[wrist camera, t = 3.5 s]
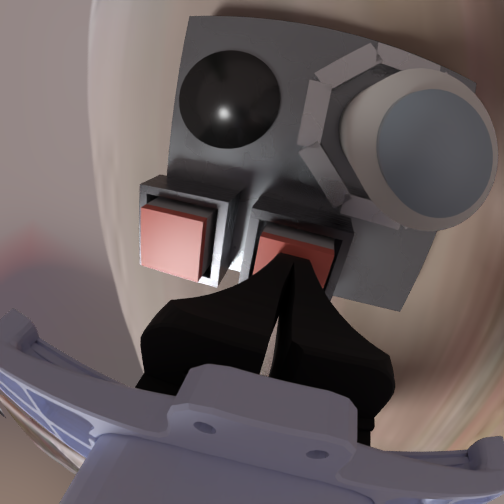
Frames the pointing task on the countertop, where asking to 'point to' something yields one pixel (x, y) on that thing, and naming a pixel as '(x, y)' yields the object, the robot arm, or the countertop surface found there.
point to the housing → (285, 149)
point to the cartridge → (421, 148)
